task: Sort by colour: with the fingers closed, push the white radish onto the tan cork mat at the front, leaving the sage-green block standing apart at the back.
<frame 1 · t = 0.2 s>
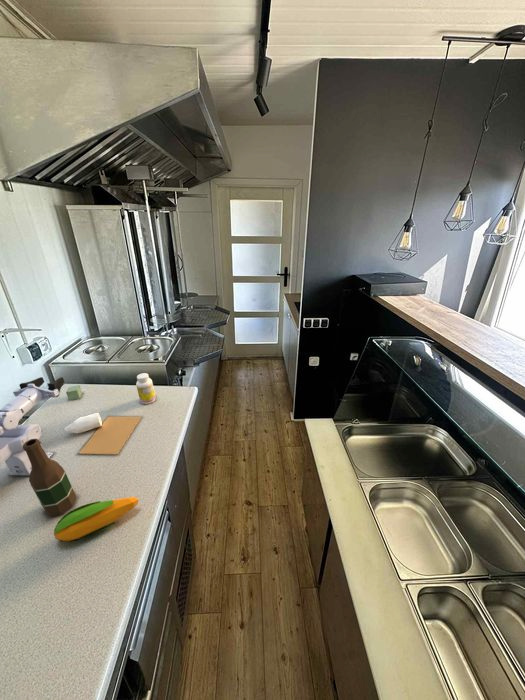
hand: (52, 379, 105), 21 cm above the countertop, tool horizontal, fingers open, 7 cm apart
beer bottle: (61, 505, 83), on the countertop
block: (75, 396, 132), on the countertop
white radish: (85, 430, 111), on the countertop, touching mat
supplement bottle: (148, 400, 129), on the countertop
corn: (102, 523, 78), on the countertop
mat: (112, 434, 109), on the countertop
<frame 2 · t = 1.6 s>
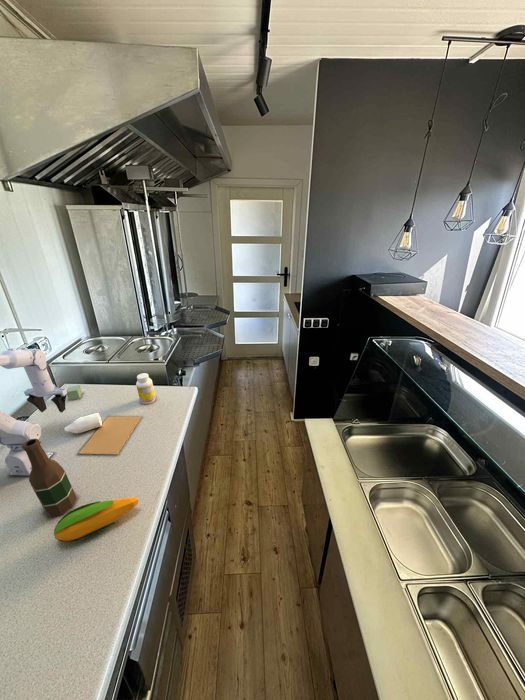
hand: (53, 410, 108), 9 cm above the countertop, tool pointing down, fingers open, 7 cm apart
nothing on the countertop moved.
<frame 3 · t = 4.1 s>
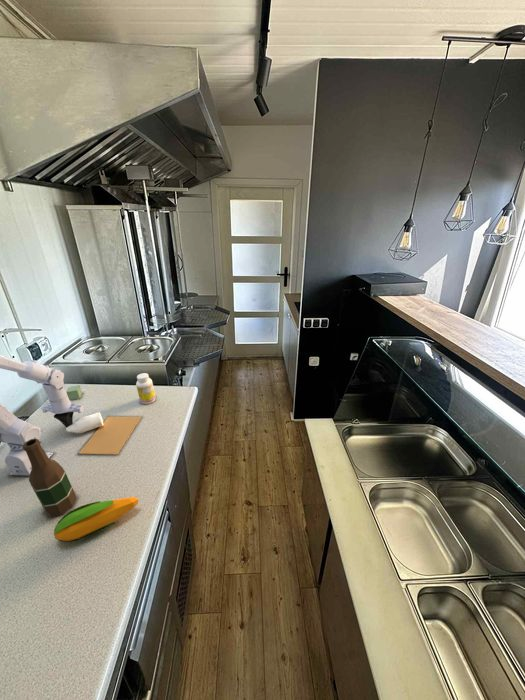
hand: (69, 426, 111), 2 cm above the countertop, tool pointing down, fingers closed
white radish: (86, 430, 111), on the countertop, touching gripper
everything else where it was.
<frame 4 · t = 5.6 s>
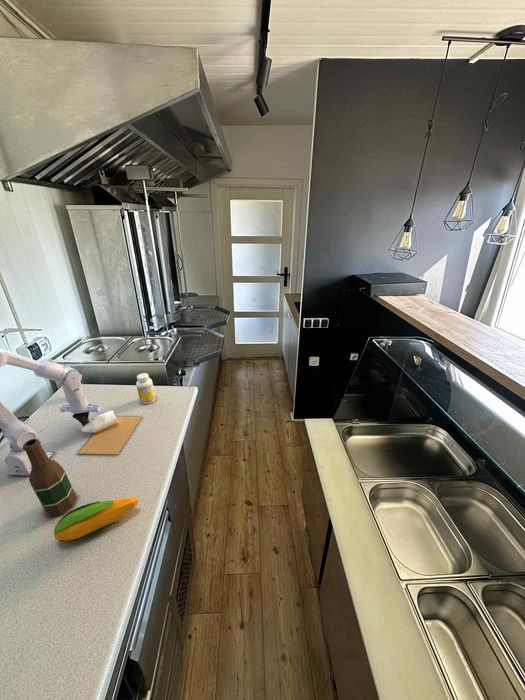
hand: (86, 426, 111), 2 cm above the countertop, tool pointing down, fingers closed, pressing on white radish
white radish: (101, 429, 111), on the countertop, touching gripper, mat
everything else where it was.
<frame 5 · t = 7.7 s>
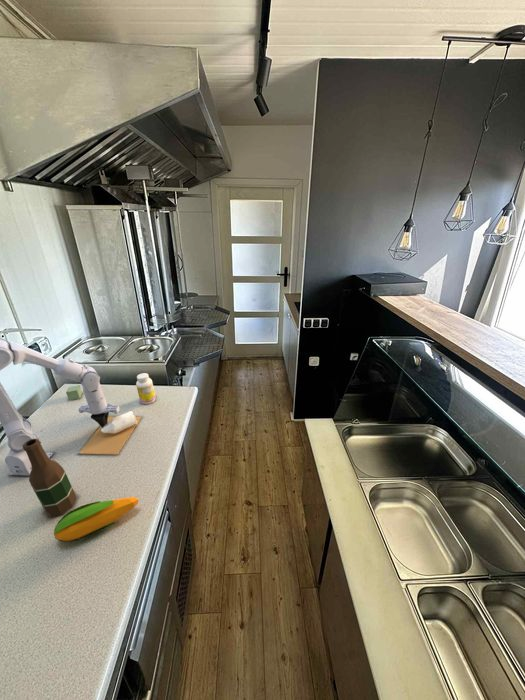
hand: (105, 426, 110), 2 cm above the countertop, tool pointing down, fingers closed
white radish: (119, 430, 111), resting on mat, touching gripper
everything else where it was.
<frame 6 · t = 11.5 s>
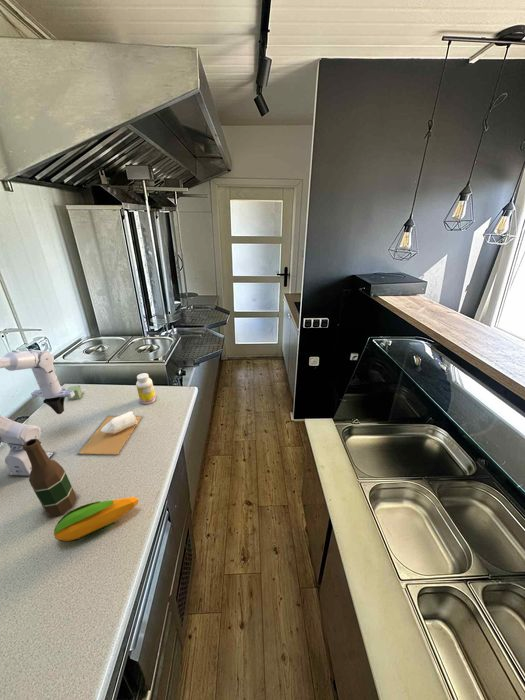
hand: (60, 412, 107), 9 cm above the countertop, tool pointing down, fingers closed
white radish: (119, 430, 111), resting on mat
everything else where it was.
at the end: white radish inside the target area on the mat (2.8 cm from its centre), point 0.1 cm above the mat's base; block moved 0.0 cm from its start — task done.
